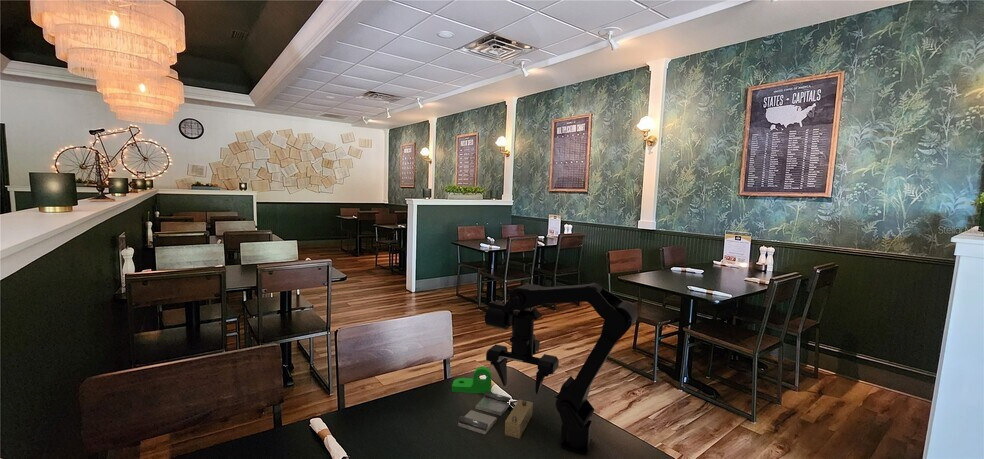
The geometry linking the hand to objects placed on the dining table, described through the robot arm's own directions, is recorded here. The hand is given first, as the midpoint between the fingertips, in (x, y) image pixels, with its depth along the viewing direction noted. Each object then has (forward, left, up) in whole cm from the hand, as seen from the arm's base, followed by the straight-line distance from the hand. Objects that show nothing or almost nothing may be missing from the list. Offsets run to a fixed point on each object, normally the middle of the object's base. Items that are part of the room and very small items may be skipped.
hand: (520, 389), depth 110 cm
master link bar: (0, 0, -10) cm, 10 cm away
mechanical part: (+21, -12, -10) cm, 26 cm away
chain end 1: (+10, -5, -10) cm, 15 cm away
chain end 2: (+10, +5, -10) cm, 15 cm away
